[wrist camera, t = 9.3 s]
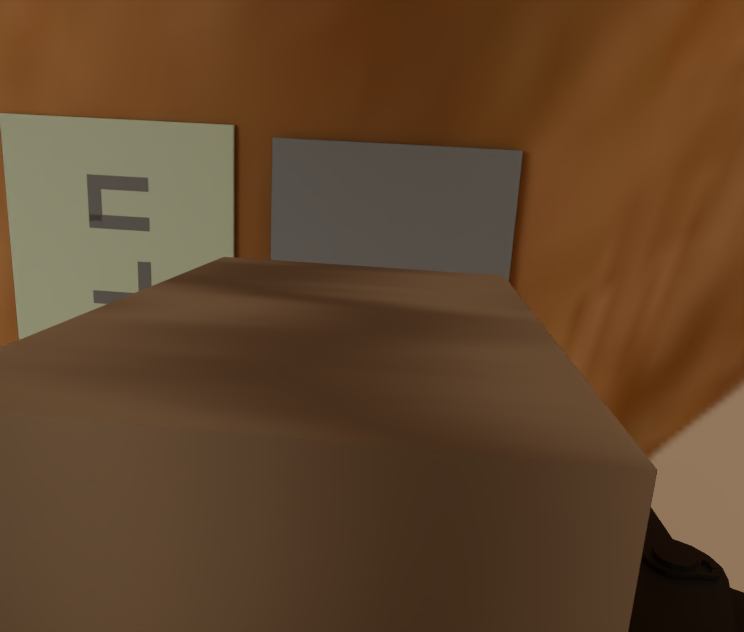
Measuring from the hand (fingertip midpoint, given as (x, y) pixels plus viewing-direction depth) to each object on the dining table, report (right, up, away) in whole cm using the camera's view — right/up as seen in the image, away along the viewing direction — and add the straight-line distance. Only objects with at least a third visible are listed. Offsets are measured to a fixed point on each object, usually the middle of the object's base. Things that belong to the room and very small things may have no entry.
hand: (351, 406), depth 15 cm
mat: (+1, +4, +16) cm, 16 cm away
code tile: (-13, +6, +17) cm, 22 cm away
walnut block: (0, 0, +1) cm, 1 cm away
